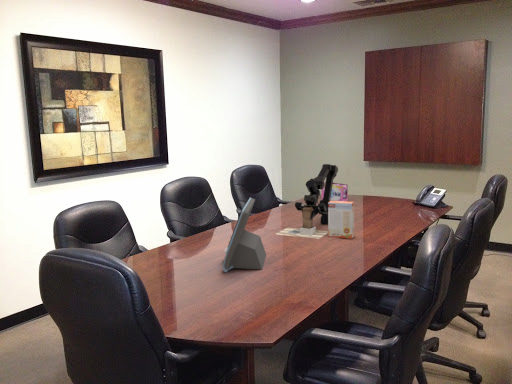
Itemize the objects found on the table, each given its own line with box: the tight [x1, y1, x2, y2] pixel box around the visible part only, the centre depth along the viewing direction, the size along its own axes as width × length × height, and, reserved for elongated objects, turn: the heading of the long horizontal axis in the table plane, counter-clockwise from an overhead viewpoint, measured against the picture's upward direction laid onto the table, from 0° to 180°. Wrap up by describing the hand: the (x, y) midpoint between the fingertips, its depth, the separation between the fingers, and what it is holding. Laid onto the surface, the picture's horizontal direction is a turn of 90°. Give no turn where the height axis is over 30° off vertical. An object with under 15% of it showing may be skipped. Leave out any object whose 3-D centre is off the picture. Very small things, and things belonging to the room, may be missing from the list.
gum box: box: [321, 181, 349, 202], centre depth 394 cm, size 24×8×14 cm, turn 38°
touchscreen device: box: [222, 197, 267, 273], centre depth 236 cm, size 35×20×30 cm, turn 174°
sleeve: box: [299, 225, 317, 236], centre depth 286 cm, size 7×7×4 cm
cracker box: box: [327, 200, 355, 240], centre depth 278 cm, size 14×6×21 cm, turn 65°
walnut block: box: [302, 207, 314, 229], centre depth 285 cm, size 4×4×13 cm
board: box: [275, 227, 328, 240], centre depth 289 cm, size 18×28×1 cm, turn 62°
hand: (306, 218), depth 284 cm, fingers closed on walnut block, 4 cm apart
